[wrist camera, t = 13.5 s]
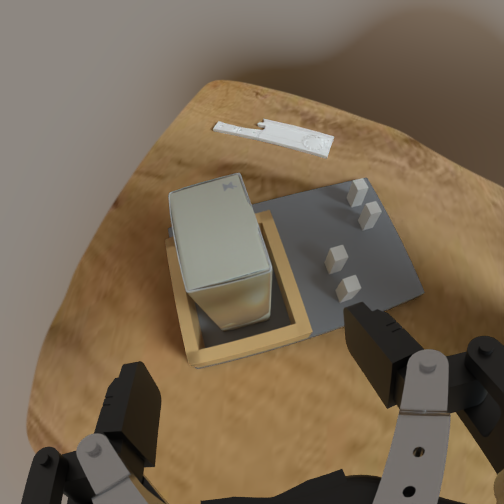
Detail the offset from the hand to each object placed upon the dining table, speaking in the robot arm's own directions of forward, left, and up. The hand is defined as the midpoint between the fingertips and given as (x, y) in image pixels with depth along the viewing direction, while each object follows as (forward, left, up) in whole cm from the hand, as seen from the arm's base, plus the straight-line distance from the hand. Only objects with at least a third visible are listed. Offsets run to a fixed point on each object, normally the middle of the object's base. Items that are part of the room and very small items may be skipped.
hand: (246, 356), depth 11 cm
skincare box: (0, -7, -14) cm, 15 cm away
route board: (-6, -8, -14) cm, 18 cm away
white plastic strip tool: (-10, -26, -15) cm, 32 cm away
